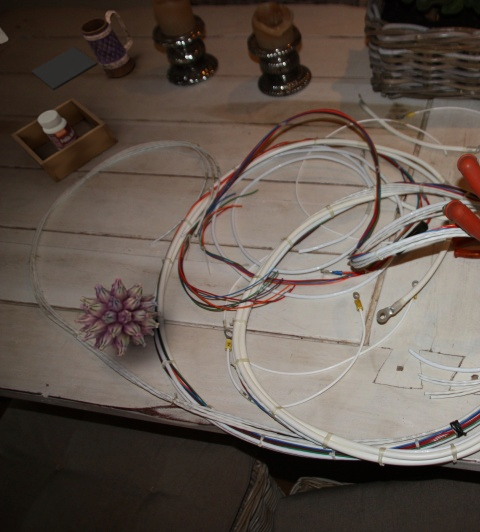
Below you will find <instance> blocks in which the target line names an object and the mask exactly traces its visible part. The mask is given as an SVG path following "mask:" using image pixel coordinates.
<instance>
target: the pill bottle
mask: <svg viewBox="0 0 480 532" xmlns="http://www.w3.org/2000/svg"><path fill="white" fill-rule="evenodd" d="M37 119H38V122H39V124H40V125H41V126H42V127H43V131H44V132H45V134H46V135H47V136H48V137H49V138H50V139H51V140H50V141H51V142H52V144H54V145H55V147H56V148H57V149H58V151H60V150H61V149H63V148H64V147H66V146H67V145H69V144H70V143H72V142H74V141H75V140H77V139H78V138H80V137H79V135H78V134H77V133H76V131H75V130H74V129H73V128H72V127H71V126H70V125H69V124H68V123H67V121H66V120H65V119H64V118H61V117H60V115H59V114H58V113H57V112H56V111H54V110H53V109H50V110H46V111H44V112H42V113H40V115H39V116H38V117H37Z"/></svg>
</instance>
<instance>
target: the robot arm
mask: <svg viewBox="0 0 480 532" xmlns="http://www.w3.org/2000/svg"><path fill="white" fill-rule="evenodd" d="M8 41H9V37H8V36H7V34H6V33H5V31H4V30H3V29H2V28H1V27H0V44H4V43H6V42H8Z"/></svg>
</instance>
